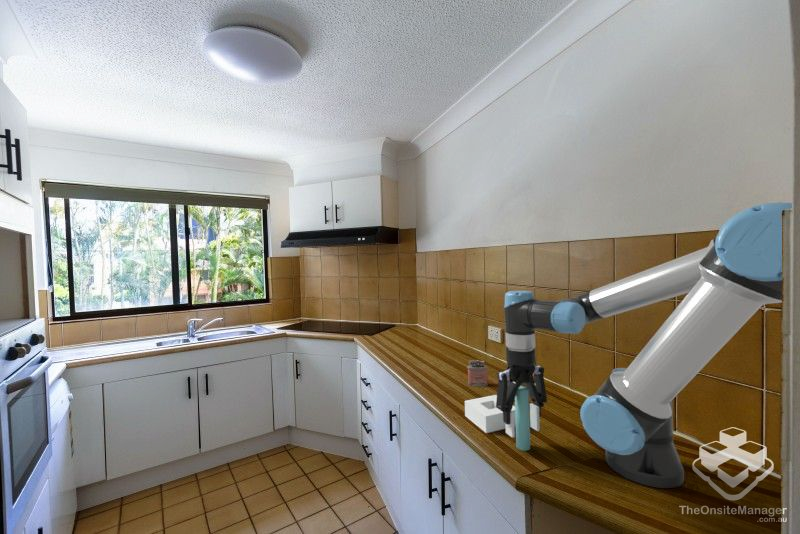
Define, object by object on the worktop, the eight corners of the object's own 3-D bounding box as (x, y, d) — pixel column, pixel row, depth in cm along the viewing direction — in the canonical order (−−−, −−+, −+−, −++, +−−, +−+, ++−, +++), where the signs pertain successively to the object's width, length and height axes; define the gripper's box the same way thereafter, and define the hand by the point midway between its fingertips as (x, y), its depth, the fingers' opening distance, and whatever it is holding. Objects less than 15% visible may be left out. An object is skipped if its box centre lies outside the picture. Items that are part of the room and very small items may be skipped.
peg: (533, 449, 88) (531, 389, 88) (522, 452, 87) (520, 391, 87) (524, 442, 92) (522, 385, 92) (513, 445, 91) (511, 387, 91)
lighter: (487, 383, 137) (486, 359, 137) (488, 386, 134) (487, 361, 134) (467, 383, 138) (466, 359, 138) (468, 386, 134) (467, 361, 134)
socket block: (519, 425, 101) (519, 409, 101) (486, 433, 97) (485, 416, 97) (495, 409, 113) (495, 394, 113) (465, 415, 109) (464, 400, 109)
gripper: (540, 340, 96) (542, 418, 96) (479, 349, 89) (482, 432, 90) (560, 346, 89) (563, 430, 89) (496, 356, 82) (499, 447, 83)
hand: (522, 431), depth 90 cm, fingers open, 8 cm apart
